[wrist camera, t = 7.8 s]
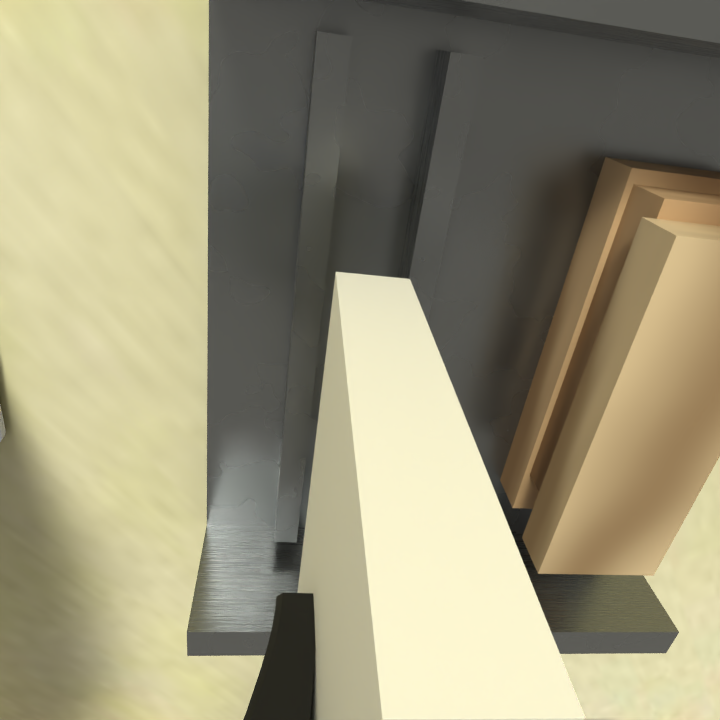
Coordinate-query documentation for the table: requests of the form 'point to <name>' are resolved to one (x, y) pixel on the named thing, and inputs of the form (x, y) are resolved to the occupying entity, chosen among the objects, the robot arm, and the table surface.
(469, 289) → the rack
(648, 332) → the offcut stack
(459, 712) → the white block
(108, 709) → the table surface
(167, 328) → the table surface
